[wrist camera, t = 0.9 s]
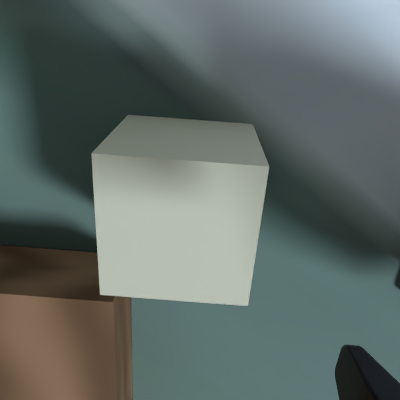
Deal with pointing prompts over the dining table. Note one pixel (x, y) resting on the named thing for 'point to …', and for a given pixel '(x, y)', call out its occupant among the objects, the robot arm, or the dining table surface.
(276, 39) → the dining table surface
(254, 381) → the dining table surface
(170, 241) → the sage cube
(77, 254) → the walnut block
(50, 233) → the dining table surface
